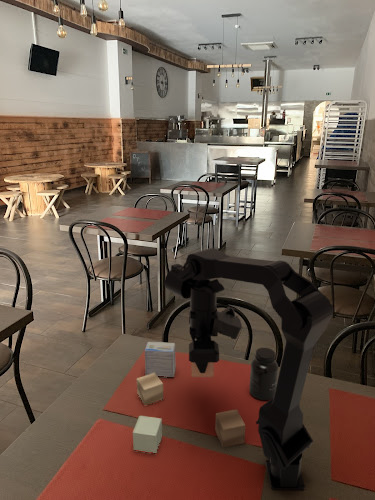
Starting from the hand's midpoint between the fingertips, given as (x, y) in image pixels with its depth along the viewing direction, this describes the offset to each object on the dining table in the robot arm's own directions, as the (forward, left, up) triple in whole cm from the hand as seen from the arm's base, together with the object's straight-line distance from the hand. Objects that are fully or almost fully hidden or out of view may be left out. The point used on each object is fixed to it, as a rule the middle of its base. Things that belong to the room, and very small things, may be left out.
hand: (202, 365), depth 91 cm
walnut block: (-8, -6, -13) cm, 16 cm away
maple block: (+5, +13, -13) cm, 19 cm away
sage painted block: (-10, +12, -13) cm, 20 cm away
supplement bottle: (+7, -16, -13) cm, 22 cm away
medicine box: (+15, +11, -13) cm, 23 cm away
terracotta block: (0, 0, -1) cm, 1 cm away
